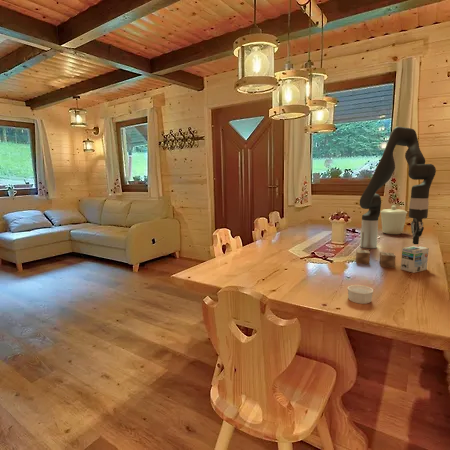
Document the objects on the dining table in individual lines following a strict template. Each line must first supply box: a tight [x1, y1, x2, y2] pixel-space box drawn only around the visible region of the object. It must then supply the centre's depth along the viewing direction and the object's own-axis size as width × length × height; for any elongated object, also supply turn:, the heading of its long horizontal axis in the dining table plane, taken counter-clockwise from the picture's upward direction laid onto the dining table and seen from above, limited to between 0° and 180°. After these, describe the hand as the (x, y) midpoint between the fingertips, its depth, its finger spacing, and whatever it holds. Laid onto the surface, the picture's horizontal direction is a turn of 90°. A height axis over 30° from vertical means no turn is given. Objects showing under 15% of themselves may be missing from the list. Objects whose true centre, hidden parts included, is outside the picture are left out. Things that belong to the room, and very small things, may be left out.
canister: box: [380, 205, 409, 235], centre depth 234 cm, size 18×18×21 cm
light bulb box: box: [400, 244, 429, 274], centre depth 149 cm, size 11×7×11 cm, turn 117°
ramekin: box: [347, 284, 374, 305], centre depth 116 cm, size 9×9×4 cm
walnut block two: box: [355, 249, 371, 265], centre depth 163 cm, size 6×6×6 cm
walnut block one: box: [379, 252, 396, 269], centre depth 157 cm, size 6×6×6 cm
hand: (415, 243), depth 148 cm, fingers closed
